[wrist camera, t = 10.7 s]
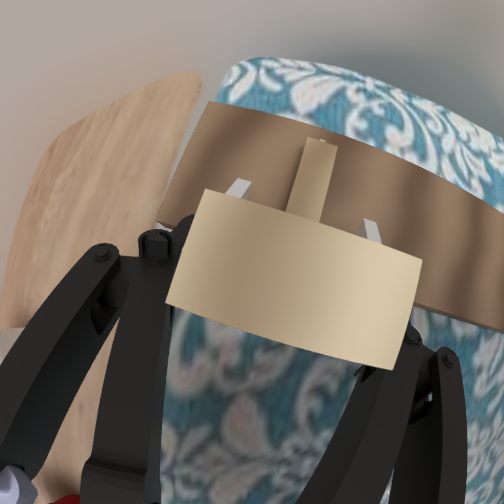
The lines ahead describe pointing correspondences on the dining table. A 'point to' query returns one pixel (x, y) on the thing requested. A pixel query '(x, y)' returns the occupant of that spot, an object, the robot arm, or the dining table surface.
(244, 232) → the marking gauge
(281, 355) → the dining table surface
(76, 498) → the plastic cup
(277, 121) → the walnut board
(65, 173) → the dining table surface
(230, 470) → the dining table surface
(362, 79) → the dining table surface
